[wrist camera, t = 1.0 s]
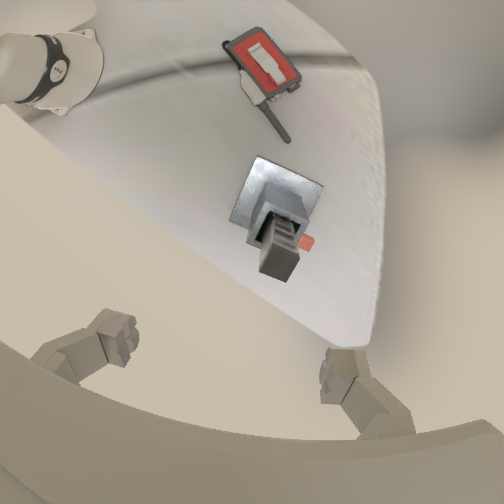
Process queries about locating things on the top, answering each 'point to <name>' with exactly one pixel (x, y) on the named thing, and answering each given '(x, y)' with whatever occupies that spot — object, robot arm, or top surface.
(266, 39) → the walkie-talkie
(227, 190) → the top surface
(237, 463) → the robot arm
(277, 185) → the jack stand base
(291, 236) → the column
